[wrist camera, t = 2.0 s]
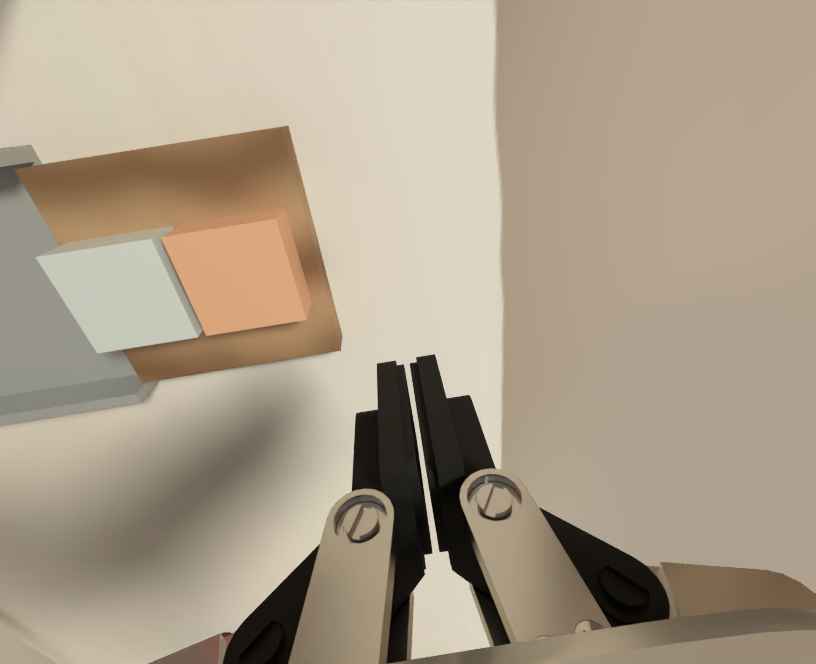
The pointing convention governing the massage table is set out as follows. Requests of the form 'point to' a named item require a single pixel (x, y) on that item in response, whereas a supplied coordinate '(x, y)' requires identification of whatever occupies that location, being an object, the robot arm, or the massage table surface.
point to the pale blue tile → (122, 290)
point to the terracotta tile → (240, 271)
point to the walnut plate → (188, 203)
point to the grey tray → (46, 322)
